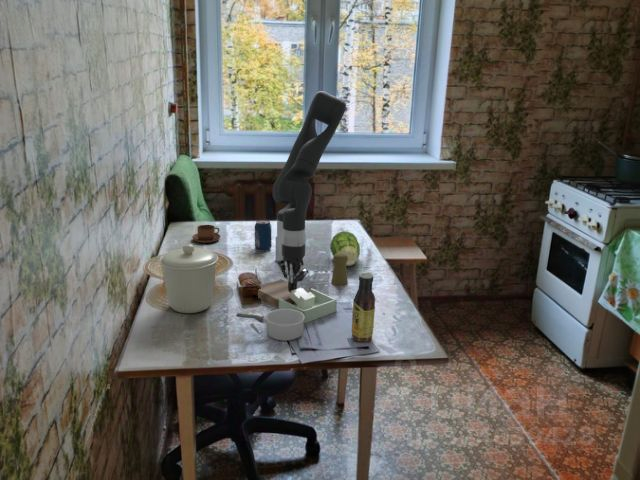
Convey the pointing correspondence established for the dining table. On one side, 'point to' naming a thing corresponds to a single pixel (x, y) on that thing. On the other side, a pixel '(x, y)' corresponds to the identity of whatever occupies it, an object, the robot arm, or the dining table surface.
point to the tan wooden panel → (275, 292)
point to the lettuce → (346, 246)
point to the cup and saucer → (206, 234)
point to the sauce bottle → (363, 309)
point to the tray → (314, 306)
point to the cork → (340, 270)
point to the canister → (189, 278)
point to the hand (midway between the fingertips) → (292, 291)
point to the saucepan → (281, 323)
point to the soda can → (263, 235)
